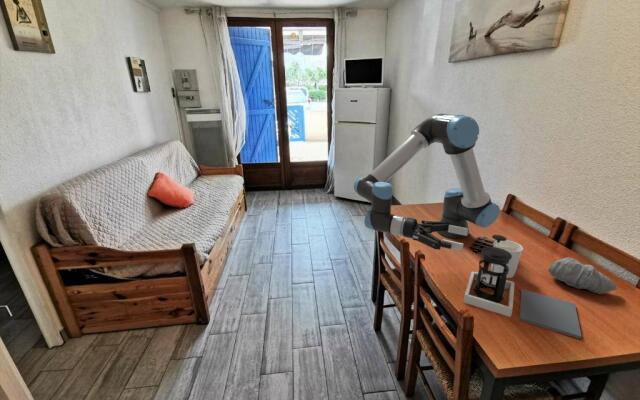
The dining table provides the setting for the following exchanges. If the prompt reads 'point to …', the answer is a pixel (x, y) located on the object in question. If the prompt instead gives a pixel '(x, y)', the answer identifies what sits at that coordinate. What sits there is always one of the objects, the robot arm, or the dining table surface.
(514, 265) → the candle holder
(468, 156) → the robot arm
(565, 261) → the seashell
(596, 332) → the dining table surface
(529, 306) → the slate mat
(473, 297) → the holder frame
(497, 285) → the french press
